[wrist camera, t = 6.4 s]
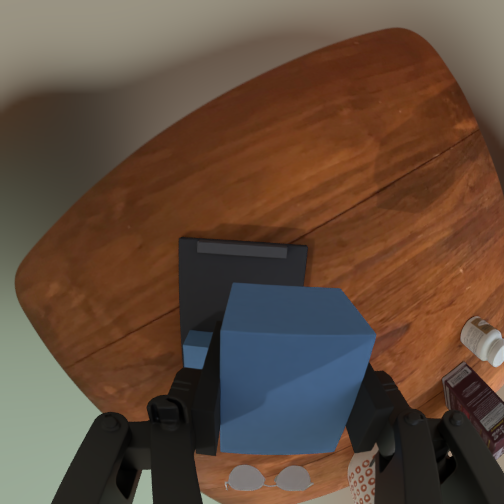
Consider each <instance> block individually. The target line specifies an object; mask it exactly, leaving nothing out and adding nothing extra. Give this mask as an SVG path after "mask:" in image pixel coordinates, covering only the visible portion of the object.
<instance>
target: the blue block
mask: <svg viewBox="0 0 504 504" xmlns="http://www.w3.org/2000/svg"><path fill="white" fill-rule="evenodd" d="M375 338H376V333H375V332H374V331H373V330H372V328H371V327H370V326H369V324H368V323H367V322H366V320H365V319H364V318H363V317H362V315H361V314H360V313H359V311H358V310H357V309H356V308H355V306H354V305H353V304H352V303H351V301H350V300H349V299H348V298H347V296H346V295H345V294H344V292H343V291H342V290H341V289H340V288H319V287H298V286H279V285H262V284H247V283H233V284H232V288H231V292H230V296H229V299H228V303H227V307H226V311H225V315H224V319H223V323H222V327H221V330H220V451H221V452H227V453H240V454H261V455H293V454H314V453H327V452H334V451H335V449H336V446H337V444H338V442H339V440H340V438H341V435H342V433H343V431H344V428H345V426H346V423H347V420H348V418H349V415H350V413H351V410H352V408H353V405H354V402H355V400H356V397H357V394H358V392H359V389H360V386H361V383H362V380H363V378H364V375H365V372H366V369H367V365H368V362H369V359H370V356H371V352H372V349H373V345H374V342H375Z"/></svg>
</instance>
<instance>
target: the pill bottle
mask: <svg viewBox="0 0 504 504" xmlns="http://www.w3.org/2000/svg"><path fill="white" fill-rule="evenodd" d="M461 342H462V343H463V344H464V345H465V346H466V347H467V348H468V349H469V350H471V351H472V352H473V353H474V354H475V355H476V356H477V357H478V358H479V359H481V360H482V361H487V360H488V362H489V363H490V364H491V365H492V366H493V367H497V366H499V365H500V364H502V362H503V361H504V339H502V336H501V333H500V332H499V331H498V330H497V329H495V328H494V327H493V326H491V325H490V324H488V323H487V322H486V321H484V320H483V319H481V318H480V317H478V316H475V317H472V318H471V319H469V320H468V321H467V322H466V324H465V325H464V327H463V329H462V332H461Z"/></svg>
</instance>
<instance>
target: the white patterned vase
mask: <svg viewBox="0 0 504 504" xmlns="http://www.w3.org/2000/svg"><path fill="white" fill-rule="evenodd" d="M378 450H379V449H378V446H377V444H376V443H375V445H374V447H373V449H372V450H371V451H367V452H361V453H355V454H354V455H353V457H352V459H351V461H350V464H349V467H348V481H349V486H350V489H351V492H352V496H353V499H354V503H355V504H374V495H375V462H374V464H373V465H372V467H369V465H370V462H371V461H372V459H373V458H374V456H375V454H376V453H377V451H378Z"/></svg>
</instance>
